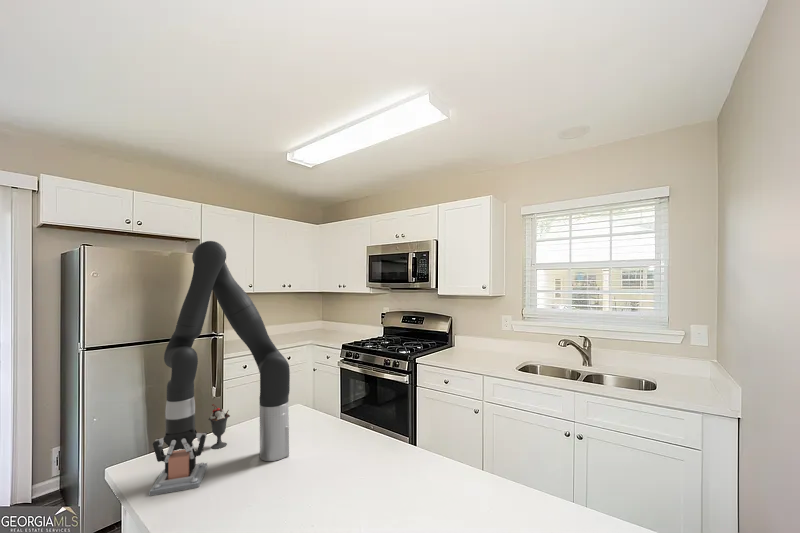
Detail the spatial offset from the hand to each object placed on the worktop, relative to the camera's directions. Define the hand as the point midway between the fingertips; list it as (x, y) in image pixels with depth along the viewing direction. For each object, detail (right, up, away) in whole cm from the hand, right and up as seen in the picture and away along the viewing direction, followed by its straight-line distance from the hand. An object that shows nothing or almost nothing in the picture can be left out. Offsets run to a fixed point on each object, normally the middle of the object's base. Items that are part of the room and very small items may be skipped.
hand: (180, 471), depth 107 cm
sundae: (0, -3, +22) cm, 22 cm away
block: (0, -1, 0) cm, 1 cm away
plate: (0, -2, 0) cm, 2 cm away
